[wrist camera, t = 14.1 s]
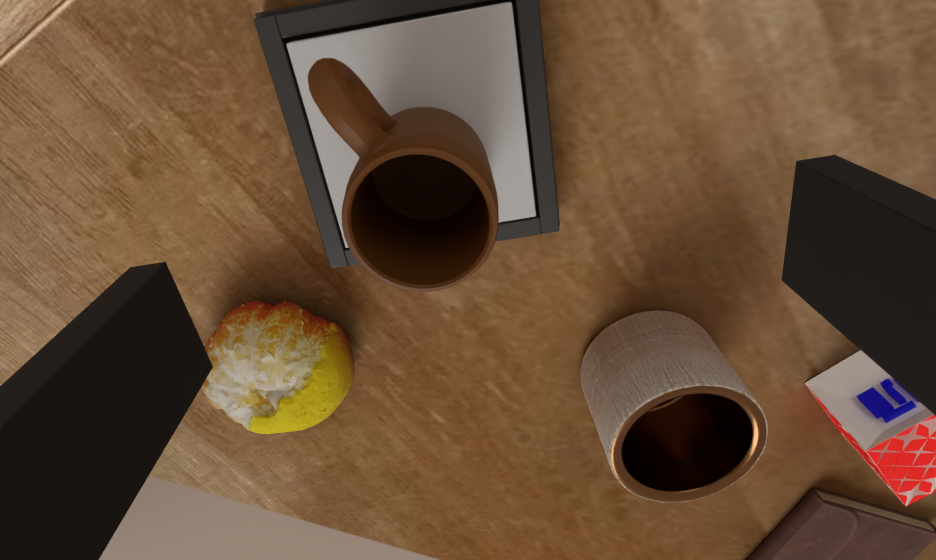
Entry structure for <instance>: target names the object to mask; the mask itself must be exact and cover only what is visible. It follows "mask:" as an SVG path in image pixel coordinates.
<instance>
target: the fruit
mask: <svg viewBox="0 0 936 560" xmlns="http://www.w3.org/2000/svg"><path fill="white" fill-rule="evenodd" d="M204 348H205V350H206V352H207V354H208V357H209V359H210V361H211V363H212V365H213V368H212V370H211V371H210V373H209V375H208V376H207V378H206V380H205V381H204V383H203V385H202V386H201V387H202V389H203V391H204V393H205V396H206V399H207V401H208V402H209V403H211V404H212V405H213V406H214V407H215V408H218V409H223V410H224V412H225V413H226V414H227V415H228V416H229V417H230V418H231V419H232V420H233V421H235V422H237V423H242V424H243V426H244V428H246V429H247V430H249V431H251V432H255V433H260V434H273V433H284V432H291V431H299V430H304V429H306V428H309V427H311V426H314V425H316V424H318V423H319V422H321V421H323V420H324V419H326V418H327V417H328V416H329V415H331V414H332V412H333V411H334V410H335V409H336V408H337V407H338V406H339V404H340V403H341V402H342V401H343V399H344V398H345V396H346V394H347V393H348V391H349V389H350V387H351V385H352V382H353V378H354V372H355V369H354V361H353V357H352V350H351V347H350V344H349V341H348V338H347V336H346V335H345V333H344V332H343V330H342V329H341V328H340V326H339V325H338V324H336V323H335V322H332V323H330V322H328V321H327V320H326V319H324V318H322V317H319V316H313V315H312V314H311V313H310V312H309V311H308V310H306V309H305V308H303V307H300V306H299V305H296V304H294V303H289V302H287V301H286V300H284V302H283V303H279V302H278V304H277V305H276V306H274V305H270V304H267V303H263V302H260V301H257V300H255V301H254V302H248V303H246V304H242V305H241V306H239V307H237V308H235V309H234V310H232V311H230V312H229V313H228V314H226V316H225V317H224V319H223V320H222V321H221V322H220V324H219V326H218V328H217V330H216V332H215V333H214V334H213V335H212V336H211V337H210V338H209V339H208V342H207V344H206V346H205V347H204Z"/></svg>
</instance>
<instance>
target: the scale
mask: <svg viewBox="0 0 936 560" xmlns="http://www.w3.org/2000/svg"><path fill="white" fill-rule="evenodd" d="M507 1H508V2H511V3H512V8H513V17H514V26H515V34H516V43H517V52H518V61H519V69H520V78H521V87H522V95H523V104H524V113H525V122H526V130H527V139H528V148H529V157H530V165H531V174H532V183H533V192H534V200H535V209H536V216H535V217H529V218H523V219H517V220H511V221H505V222H499V223H498V232H497V237H496V240H495V241H501V240H507V239H514V238H520V237H526V236H532V235H538V234H541V233H542V234H544V233H550V232H556V231H559V226H560V222H559V211H558V201H557V190H556V180H555V169H554V158H553V148H552V137H551V127H550V116H549V105H548V95H547V84H546V74H545V63H544V52H543V42H542V31H541V21H540V10H539V0H326V1H320V2H315V3H310V4H304V5H299V6H294V7H288V8H283V9H278V10H272V11H267V12H261V13H256V14H255V15H256V19H254V22H255V26H256V29H257V32H258V35H259V38H260V42H261V45H262V48H263V51H264V54H265V58H266V61H267V64H268V67H269V70H270V74H271V77H272V80H273V83H274V87H275V90H276V93H277V96H278V99H279V103H280V106H281V109H282V112H283V115H284V119H285V122H286V125H287V128H288V131H289V135H290V138H291V141H292V144H293V148H294V151H295V154H296V157H297V160H298V164H299V167H300V170H301V173H302V176H303V180H304V183H305V186H306V189H307V192H308V196H309V199H310V202H311V205H312V209H313V212H314V215H315V218H316V221H317V225H318V228H319V231H320V234H321V237H322V241H323V244H324V247H325V250H326V253H327V257H328V260H329V263H330V266H331V268H338V267H344V266H348V265H349V266H350V265H356V264H359V263H358V261H357V260H356V258H355V257H354V256H353V254H352V252H351V251H350V249H349V248H346V247H345V244H344V240H343V237H342V233H341V230H340V227H339V223H338V220H337V216H336V213H335V209H334V206H333V203H332V199H331V196H330V192H329V189H328V185H327V182H326V179H325V175H324V172H323V168H322V165H321V162H320V158H319V155H318V151H317V148H316V144H315V141H314V138H313V134H312V131H311V127H310V124H309V120H308V117H307V114H306V110H305V107H304V103H303V100H302V97H301V93H300V90H299V86H298V83H297V79H296V76H295V73H294V69H293V66H292V62H291V59H290V55H289V52H288V49H287V43H289V42H291V41H294V40H300V39H305V38H311V37H316V36H322V35H327V34H332V33H338V32H343V31H349V30H354V29H360V28H365V27H371V26H376V25H382V24H387V23H392V22H398V21H403V20H409V19H414V18H420V17H425V16H431V15H436V14H441V13H447V12H452V11H458V10H463V9H469V8H474V7H480V6H485V5H490V4H496V3H501V2H507Z"/></svg>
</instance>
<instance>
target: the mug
mask: <svg viewBox="0 0 936 560" xmlns="http://www.w3.org/2000/svg"><path fill="white" fill-rule="evenodd" d="M308 85H309V91H310V93H311V96H312V98H313V100H314V102H315V103H316V105H317V107H318V108H319V110H320V112H321V113H322V114H323V116H324V117H325V119H326V120H327V122H328V123H329V124H330V126H331V127H332V128H333V129H334V130H335V132H336V133H337V134H338V135H339V136H340V137H341V138H342V139H343V140H344V141H345V142H346V143H347V144H348V145H349V146H350V147H351V148H352V150H353V151H354V152H355V153H356V154H357V155H358V156H359V159H358V162H357V163H356V165H355V167H354V170H353V172H352V174H351V176H350V178H349V181H348V184H347V187H346V192H345V196H344V201H343V206H342V228H343V232H344V237H345V239H346V242H347V245H348V247H349V249H350V251H351V252H352V254H353V256H354V257H355V258H356V260H357V261H358V263H359V264H360V265H361V266H362V267H363V268H364V269H365V270H366V271H367V272H369V273H370V274H371V275H372V276H374V277H375V278H377V279H378V280H380V281H381V282H384V283H386V284H388V285H390V286H392V287H395V288H398V289H402V290H407V291H414V292H430V291H437V290H441V289H445V288H448V287H451V286H454V285H456V284H458V283H460V282H462V281H464V280H465V279H466V278H468V277H469V276H471V275H472V274H473V273H474V272H475V271H477V270H478V269H479V268H480V266H481V265H482V264H483V263H484V262H485V260H486V259H487V257H488V256H489V254H490V252H491V250H492V248H493V246H494V243H495V240H496V237H497V232H498V223H499V214H498V208H499V206H498V196H497V191H496V187H495V183H494V179H493V175H492V171H491V167H490V164H489V161H488V157H487V154H486V151H485V148H484V146H483V144H482V142H481V140H480V138H479V136H478V135H477V134H476V132H475V131H474V130H473V129H472V127H471V126H470V125H469V124H468V123H466V122H465V121H464V120H463V119H461V118H460V117H458V116H456V115H455V114H453V113H451V112H448V111H446V110H443V109H439V108H434V107H415V108H409V109H406V110H403V111H400V112H398V113H396V114H394V115H392V116H390V115H389V114H388V113H387V112H386V111H385V110H384V108H383V107H382V106H381V105H380V104H379V102H378V101H377V100H376V98H375V97H374V95H373V94H372V93H371V91H370V90H369V89H368V88H367V86H366V85H365V84H364V83H363V81H362V80H361V79H360V78H359V77H358V76H357V75H356V74H355V72H353V71H352V70H351V69H350V68H349V67H348V66H347V65H346V64H344V63H342V62H341V61H339V60H336V59H334V58H322V59H320V60H317V61H316V62H315V63H314V64H313V65H312V67H311V68H310V70H309V73H308Z"/></svg>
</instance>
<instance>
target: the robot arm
mask: <svg viewBox="0 0 936 560" xmlns="http://www.w3.org/2000/svg"><path fill="white" fill-rule="evenodd" d="M782 281H783V282H784V283H785V284H787V285H788V286H789V287H790V288H791V289H792V290H793V291H794V292H796V293H797V294H798V295H799V296H800V297H801V298H802V299H804V300H805V301H806V302H807V303H808V304H809V305H810V306H811V307H813V308H814V309H815V310H816V311H817V312H818V313H819V314H821V315H822V316H823V317H824V318H825V319H826V320H827V321H828V322H830V323H831V324H832V325H833V326H834V327H835V328H836V329H838V330H839V331H840V332H841V333H842V334H843V335H844V336H846V337H847V338H848V339H849V340H850V341H851V342H852V343H853V344H855V345H856V346H857V347H858V348H859V349H860V350H861V351H863V352H864V353H865V354H866V355H867V356H868V357H869V358H870V359H872V360H873V361H874V362H875V363H876V364H877V365H878V366H880V367H881V368H882V369H883V370H884V371H885V372H886V373H888V374H889V375H890V376H891V377H892V378H893V379H894V380H895V381H897V382H898V383H899V384H900V385H901V386H902V387H903V388H905V389H906V390H907V391H908V392H909V393H910V394H911V395H912V396H914V397H915V398H916V399H917V400H918V401H919V402H920V403H922V404H923V405H924V406H925V407H926V408H927V409H928V410H929V411H931V412H932V413H933V414H934V415H935V416H936V199H933V198H931V197H929V196H927V195H924V194H922V193H920V192H918V191H915V190H913V189H911V188H909V187H906V186H904V185H902V184H899V183H897V182H895V181H893V180H890V179H888V178H886V177H884V176H881V175H879V174H877V173H875V172H872V171H870V170H868V169H866V168H863V167H861V166H859V165H857V164H854V163H852V162H850V161H847V160H845V159H843V158H841V157H838V156H836V155H831V156H825V157H819V158H813V159H806V160H800V161H796V169H795V177H794V185H793V193H792V201H791V209H790V217H789V225H788V234H787V242H786V250H785V258H784V266H783V274H782ZM212 368H213V365H212V363H211V361H210V359H209V357H208V354H207V352H206V350H205V348H204V346H203V343H202V341H201V339H200V337H199V335H198V332H197V330H196V328H195V326H194V324H193V321H192V319H191V317H190V315H189V313H188V310H187V308H186V306H185V304H184V302H183V299H182V297H181V295H180V293H179V291H178V288H177V286H176V284H175V282H174V280H173V278H172V275H171V273H170V271H169V269H168V267H167V264H166V262H162V263H155V264H149V265H143V266H136V267H130V268H129V269H128V270H127V271H126V272H125V273H124V274H123V275H121V276H120V277H119V278H118V279H117V280H116V281H115V282H114V283H113V284H112V285H111V286H109V287H108V288H107V289H106V290H105V291H104V292H103V293H102V294H101V295H100V296H98V297H97V298H96V299H95V300H94V301H93V302H92V303H91V304H90V305H89V306H88V307H86V308H85V309H84V310H83V311H82V312H81V313H80V314H79V315H78V316H77V317H76V318H74V319H73V320H72V321H71V322H70V323H69V324H68V325H67V326H66V327H65V328H64V329H62V330H61V331H60V332H59V333H58V334H57V335H56V336H55V337H54V338H53V339H52V340H50V341H49V342H48V343H47V344H46V345H45V346H44V347H43V348H42V349H41V350H40V351H38V352H37V353H36V354H35V355H34V356H33V357H32V358H31V359H30V360H29V361H28V362H26V363H25V364H24V365H23V366H22V367H21V368H20V369H19V370H18V371H17V372H16V373H14V374H13V375H12V376H11V377H10V378H9V379H8V380H7V381H6V382H5V383H4V384H2V385H1V386H0V560H99V558H100V556H101V555H102V553H103V551H104V550H105V548H106V546H107V544H108V543H109V541H110V539H111V538H112V536H113V534H114V533H115V531H116V529H117V528H118V526H119V524H120V523H121V521H122V519H123V517H124V516H125V514H126V512H127V511H128V509H129V508H130V506H131V504H132V502H133V501H134V499H135V497H136V496H137V494H138V492H139V491H140V489H141V487H142V486H143V484H144V482H145V481H146V479H147V477H148V476H149V474H150V472H151V471H152V469H153V467H154V465H155V464H156V462H157V460H158V459H159V457H160V455H161V454H162V452H163V450H164V449H165V447H166V445H167V444H168V442H169V440H170V439H171V437H172V435H173V434H174V432H175V430H176V428H177V427H178V425H179V423H180V422H181V420H182V418H183V417H184V415H185V413H186V412H187V410H188V408H189V407H190V405H191V403H192V402H193V400H194V398H195V397H196V395H197V393H198V392H199V390H200V388H201V386H202V385H203V383H204V381H205V380H206V378H207V376H208V375H209V373H210V371H211V370H212Z"/></svg>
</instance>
